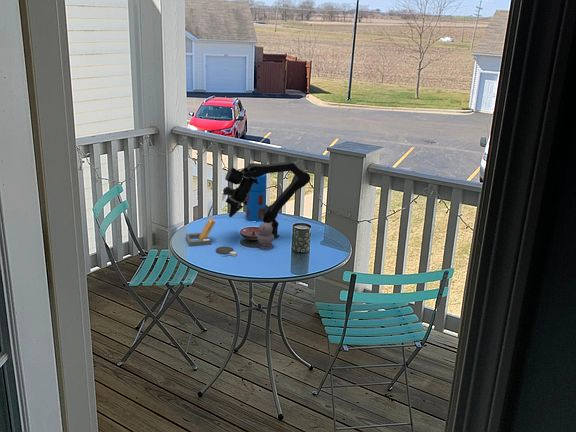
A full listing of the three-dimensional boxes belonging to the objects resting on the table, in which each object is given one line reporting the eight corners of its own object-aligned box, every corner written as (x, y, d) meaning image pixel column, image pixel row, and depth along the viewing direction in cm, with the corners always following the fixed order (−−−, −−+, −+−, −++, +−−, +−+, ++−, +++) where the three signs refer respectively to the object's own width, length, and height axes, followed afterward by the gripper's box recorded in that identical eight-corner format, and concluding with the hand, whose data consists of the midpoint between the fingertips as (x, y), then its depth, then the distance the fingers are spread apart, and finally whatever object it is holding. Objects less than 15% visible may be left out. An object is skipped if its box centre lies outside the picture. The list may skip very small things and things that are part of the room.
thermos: (266, 216, 307) (267, 172, 298) (264, 222, 297) (265, 177, 288) (247, 214, 307) (247, 171, 299) (244, 221, 297) (244, 176, 289)
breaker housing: (206, 237, 273) (206, 231, 272) (211, 246, 263) (210, 240, 262) (185, 239, 270) (185, 233, 269) (189, 248, 260) (189, 242, 259)
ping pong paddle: (241, 253, 256) (241, 250, 256) (229, 259, 250) (229, 256, 249) (223, 248, 262) (223, 245, 261) (212, 253, 256) (212, 250, 255)
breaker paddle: (201, 237, 270) (213, 218, 268) (204, 242, 264) (215, 222, 263) (198, 236, 269) (210, 216, 268) (200, 241, 264) (212, 220, 262)
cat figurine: (263, 242, 271) (264, 219, 267) (277, 245, 267) (277, 222, 263) (253, 247, 264) (254, 224, 260) (267, 251, 260) (268, 227, 256)
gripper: (235, 179, 276) (222, 207, 278) (223, 180, 257) (209, 210, 260) (255, 190, 274) (241, 218, 277) (244, 192, 256) (229, 221, 259)
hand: (229, 216), depth 268 cm, fingers closed
